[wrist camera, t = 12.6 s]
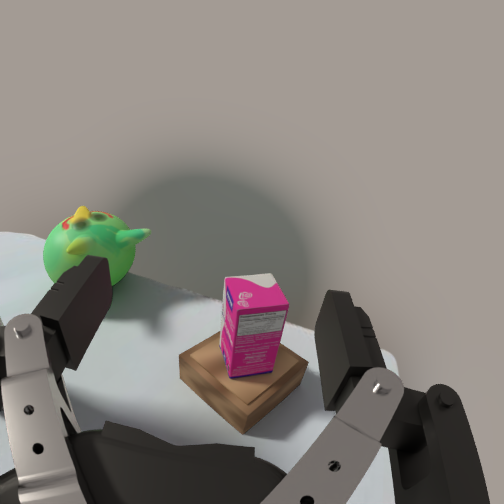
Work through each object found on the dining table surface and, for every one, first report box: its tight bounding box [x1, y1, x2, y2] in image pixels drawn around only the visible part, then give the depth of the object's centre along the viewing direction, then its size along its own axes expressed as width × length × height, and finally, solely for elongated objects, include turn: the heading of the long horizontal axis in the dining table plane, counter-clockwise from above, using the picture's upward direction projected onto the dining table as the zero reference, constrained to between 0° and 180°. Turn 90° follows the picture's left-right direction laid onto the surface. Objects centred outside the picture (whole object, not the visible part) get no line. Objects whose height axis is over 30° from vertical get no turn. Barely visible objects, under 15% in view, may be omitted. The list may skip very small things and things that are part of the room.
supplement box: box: [219, 273, 289, 379], centre depth 36 cm, size 6×6×12 cm
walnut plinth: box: [179, 331, 309, 434], centre depth 41 cm, size 12×12×5 cm
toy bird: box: [43, 206, 151, 286], centre depth 52 cm, size 18×17×15 cm
